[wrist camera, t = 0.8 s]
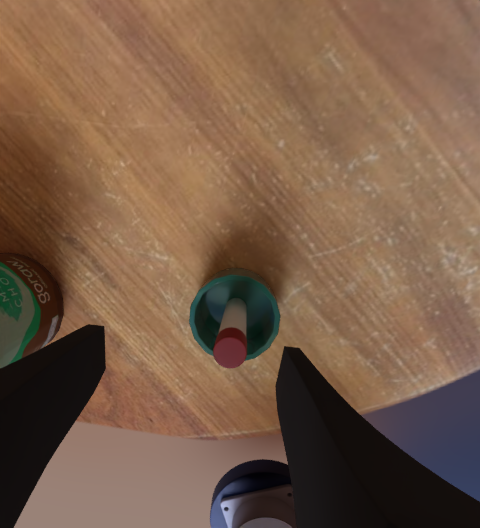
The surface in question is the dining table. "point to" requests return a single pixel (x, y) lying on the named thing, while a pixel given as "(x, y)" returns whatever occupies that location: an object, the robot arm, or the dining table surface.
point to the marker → (232, 335)
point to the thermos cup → (214, 302)
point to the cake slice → (26, 307)
